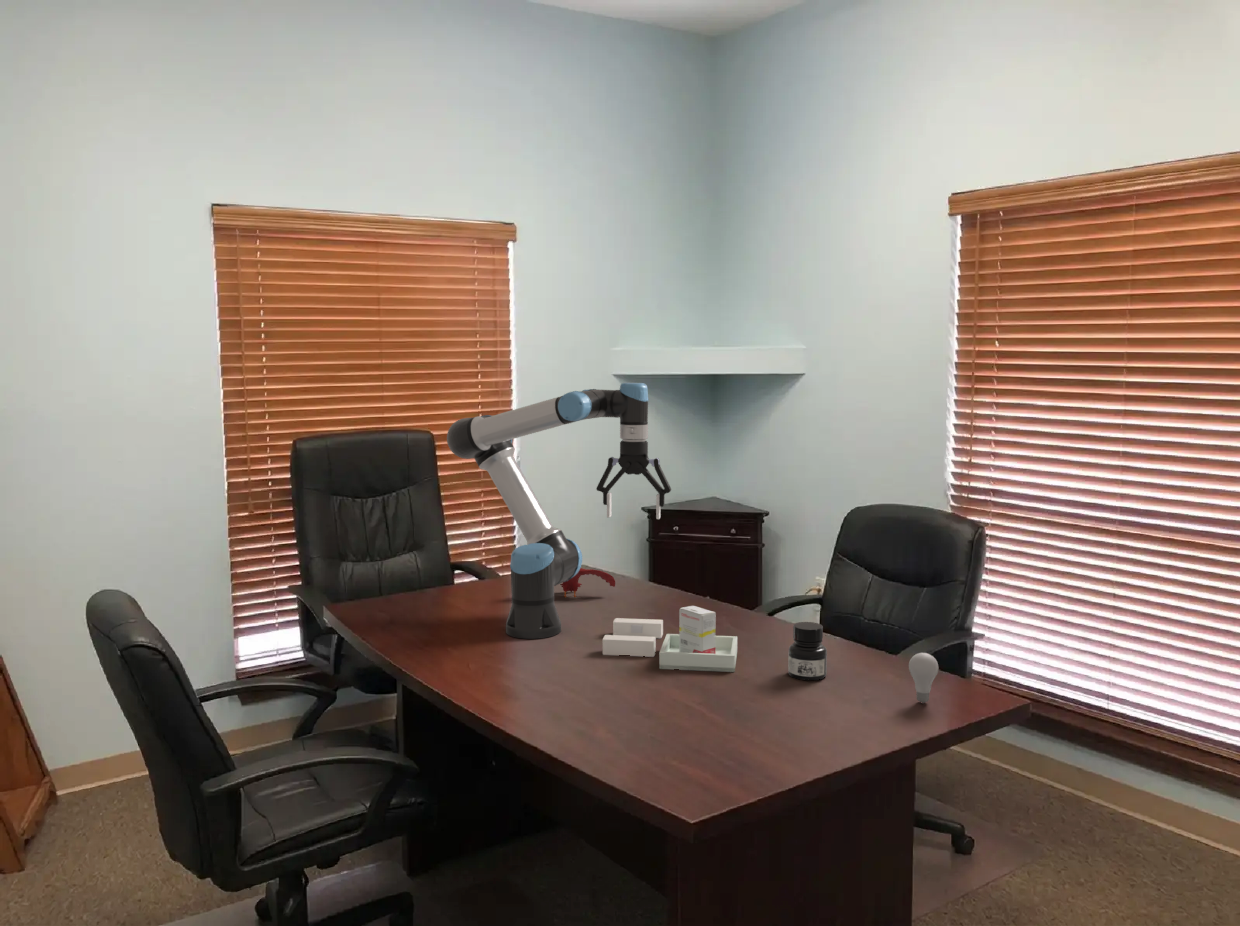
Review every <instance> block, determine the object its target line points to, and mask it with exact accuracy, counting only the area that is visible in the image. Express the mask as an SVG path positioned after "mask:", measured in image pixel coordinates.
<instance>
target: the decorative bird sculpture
mask: <svg viewBox="0 0 1240 926" xmlns="http://www.w3.org/2000/svg"><path fill="white" fill-rule="evenodd" d="M585 575H586V576H589V575H592V576H596V577H597V578H598V577H600V578H601V579H602V580H605V583H608V584H609V586H610V587H613V588H615V587H616V579H615V578H614V576H612V575H611V574H609V573H608V572H605V571H603V570H598V569H592V568H590V569H587V568H583V567H581V568H580V570H579V572H578V573H577V574H576V575H575V576H574V577H572V578H571V579H570V580H568V581H566V582H562V583H560V584H559V585H560V586H561V588H562V590H563V592H564V595H563V597H564V598H567V597H569V596H568V595H567V592H570V593H572V592H573V597H574V598H576V597H577V595H576V593H577V591H578V589H579V588H581V586H582V585H583V584H582V583H580V582H579V579H580V578H581V577H582V576H585Z"/></svg>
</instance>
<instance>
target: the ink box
mask: <svg viewBox="0 0 1240 926" xmlns="http://www.w3.org/2000/svg"><path fill="white" fill-rule="evenodd" d="M678 612H679V613H678V616H679V619H678V621H679V624H678V625H679V627H678V628H679V630H678V632H679V633H678V634H679V652H685V653H710V654H715V636H717V635H716V626H717V625H716V623H717V622H716V621H717V617H716V615H717V613H716V611H712V610H709V609H706V608H703V607H699V606H696V605H688V606H684V607H680V608H679V611H678Z"/></svg>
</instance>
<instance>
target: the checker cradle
mask: <svg viewBox="0 0 1240 926" xmlns="http://www.w3.org/2000/svg"><path fill="white" fill-rule="evenodd" d="M663 635H664V620H663V619H656V618H655V619H652V618H651V619H650V618H649V619H648V618H623V617H621V618H620V617H616V618H614V619H613V622H612V634H605V635H604V636H603V638H602V656H619V655H630V656H629V657H643V656H645V658H647V657H649V658H654V657H655V655H656V653H655V652H656V651H657V647H656V646H657V643H656V642H657V641H656V640H657V639H662V637H663Z"/></svg>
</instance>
